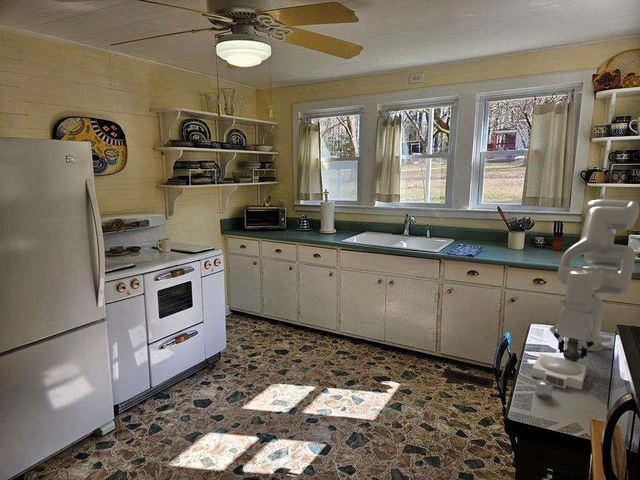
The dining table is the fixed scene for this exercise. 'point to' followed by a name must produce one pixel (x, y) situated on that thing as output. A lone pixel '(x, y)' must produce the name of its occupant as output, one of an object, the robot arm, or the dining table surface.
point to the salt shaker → (572, 351)
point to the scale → (559, 371)
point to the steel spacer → (544, 389)
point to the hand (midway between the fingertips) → (571, 354)
